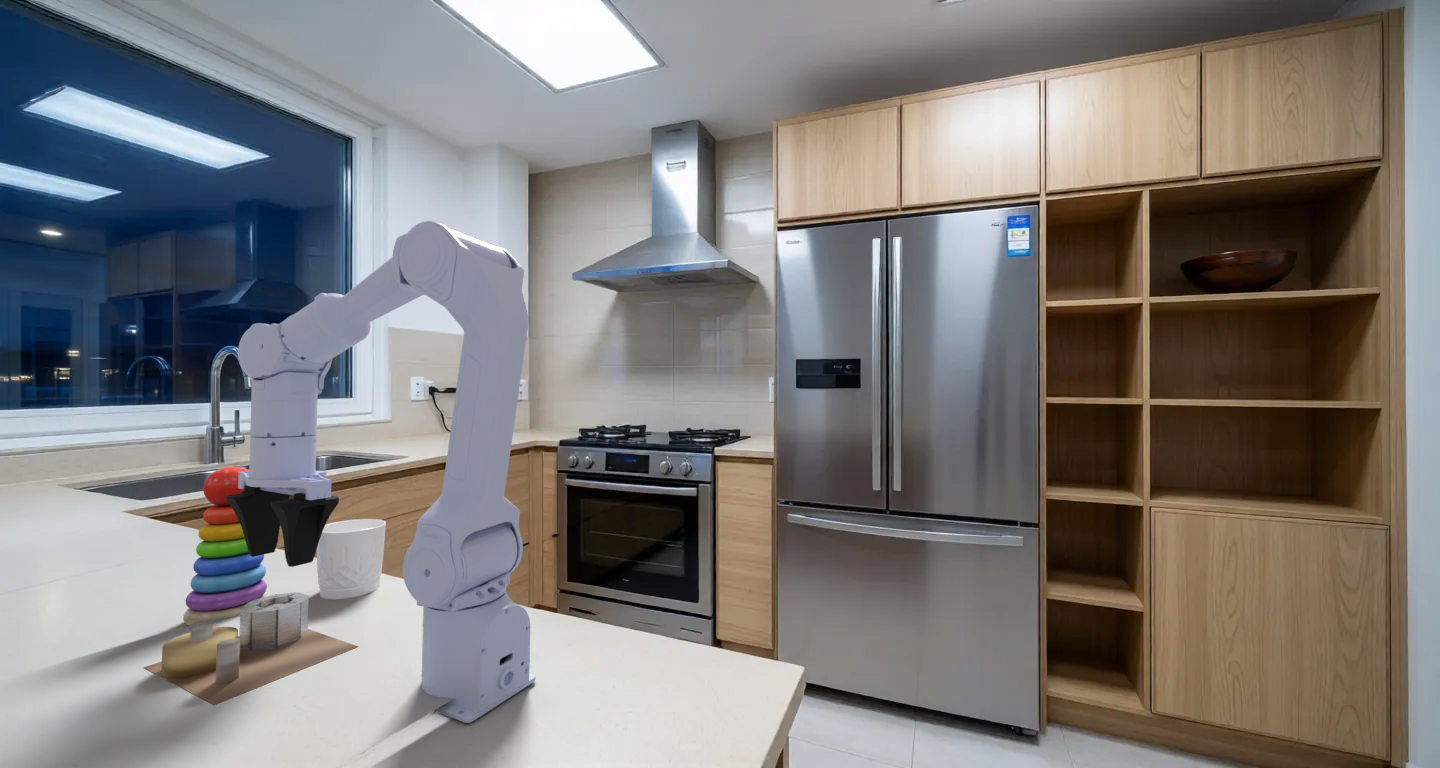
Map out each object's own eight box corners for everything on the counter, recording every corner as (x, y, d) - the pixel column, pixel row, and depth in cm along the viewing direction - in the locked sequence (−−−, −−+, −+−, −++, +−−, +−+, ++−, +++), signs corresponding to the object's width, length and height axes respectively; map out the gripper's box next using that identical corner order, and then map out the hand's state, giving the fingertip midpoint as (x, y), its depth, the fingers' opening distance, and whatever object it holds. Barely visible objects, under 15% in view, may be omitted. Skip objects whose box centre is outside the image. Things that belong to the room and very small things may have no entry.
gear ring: (316, 633, 60) (317, 597, 60) (258, 654, 55) (259, 615, 55) (288, 624, 62) (289, 589, 62) (230, 643, 57) (232, 606, 57)
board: (358, 657, 57) (359, 613, 57) (213, 718, 46) (215, 663, 46) (285, 631, 63) (286, 591, 63) (143, 679, 52) (144, 631, 52)
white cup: (302, 602, 72) (304, 527, 72) (364, 584, 79) (366, 516, 79) (333, 614, 68) (336, 535, 68) (396, 594, 75) (398, 523, 75)
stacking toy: (285, 606, 70) (289, 463, 71) (223, 632, 63) (228, 472, 63) (231, 603, 71) (236, 462, 72) (163, 629, 63) (169, 470, 64)
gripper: (361, 436, 60) (358, 558, 59) (289, 431, 66) (286, 541, 66) (289, 440, 53) (285, 577, 53) (216, 434, 60) (212, 557, 59)
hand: (280, 558), depth 59 cm, fingers open, 7 cm apart
